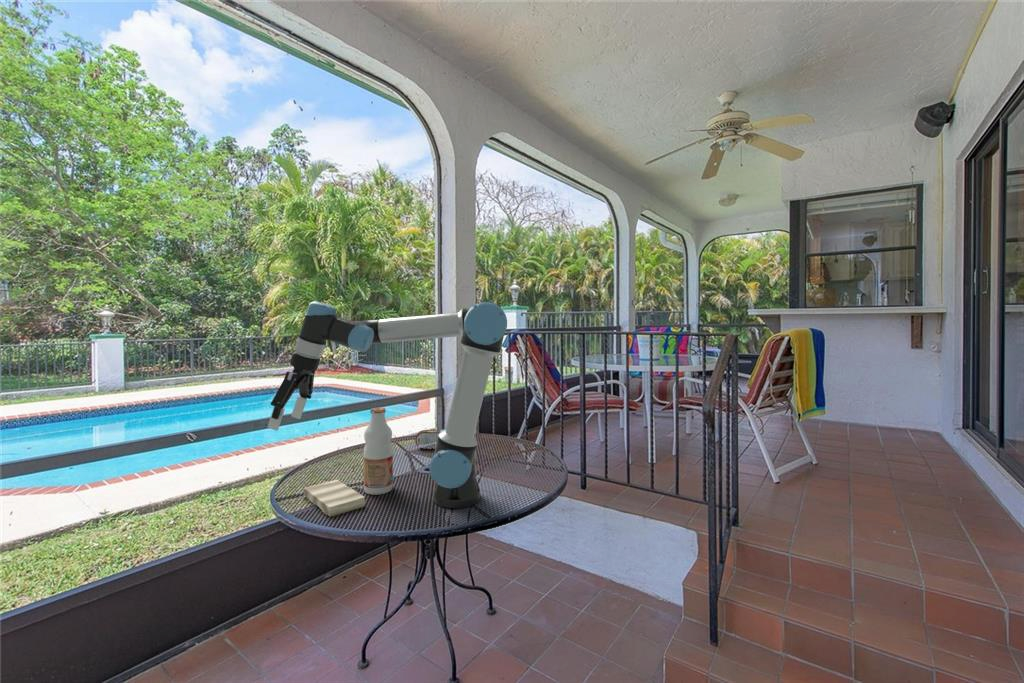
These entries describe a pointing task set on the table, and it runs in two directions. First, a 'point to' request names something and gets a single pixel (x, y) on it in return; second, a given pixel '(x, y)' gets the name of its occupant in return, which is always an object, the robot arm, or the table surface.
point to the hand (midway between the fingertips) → (284, 423)
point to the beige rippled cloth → (334, 497)
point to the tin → (427, 437)
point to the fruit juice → (378, 454)
